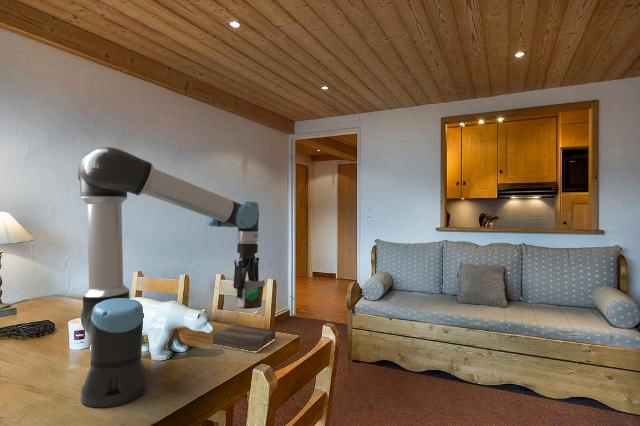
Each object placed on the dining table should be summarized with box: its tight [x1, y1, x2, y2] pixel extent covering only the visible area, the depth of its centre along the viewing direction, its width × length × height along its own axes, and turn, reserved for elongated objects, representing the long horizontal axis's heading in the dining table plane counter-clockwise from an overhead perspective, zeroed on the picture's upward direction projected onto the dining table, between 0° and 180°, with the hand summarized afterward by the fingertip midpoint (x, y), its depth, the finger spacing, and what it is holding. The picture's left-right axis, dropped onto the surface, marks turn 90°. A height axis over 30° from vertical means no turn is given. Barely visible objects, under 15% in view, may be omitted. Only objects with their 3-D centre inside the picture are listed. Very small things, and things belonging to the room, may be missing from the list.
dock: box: [212, 324, 277, 351], centre depth 133 cm, size 14×18×4 cm
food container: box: [235, 279, 266, 310], centre depth 133 cm, size 12×6×10 cm, turn 73°
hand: (245, 304), depth 133 cm, fingers closed on food container, 6 cm apart
